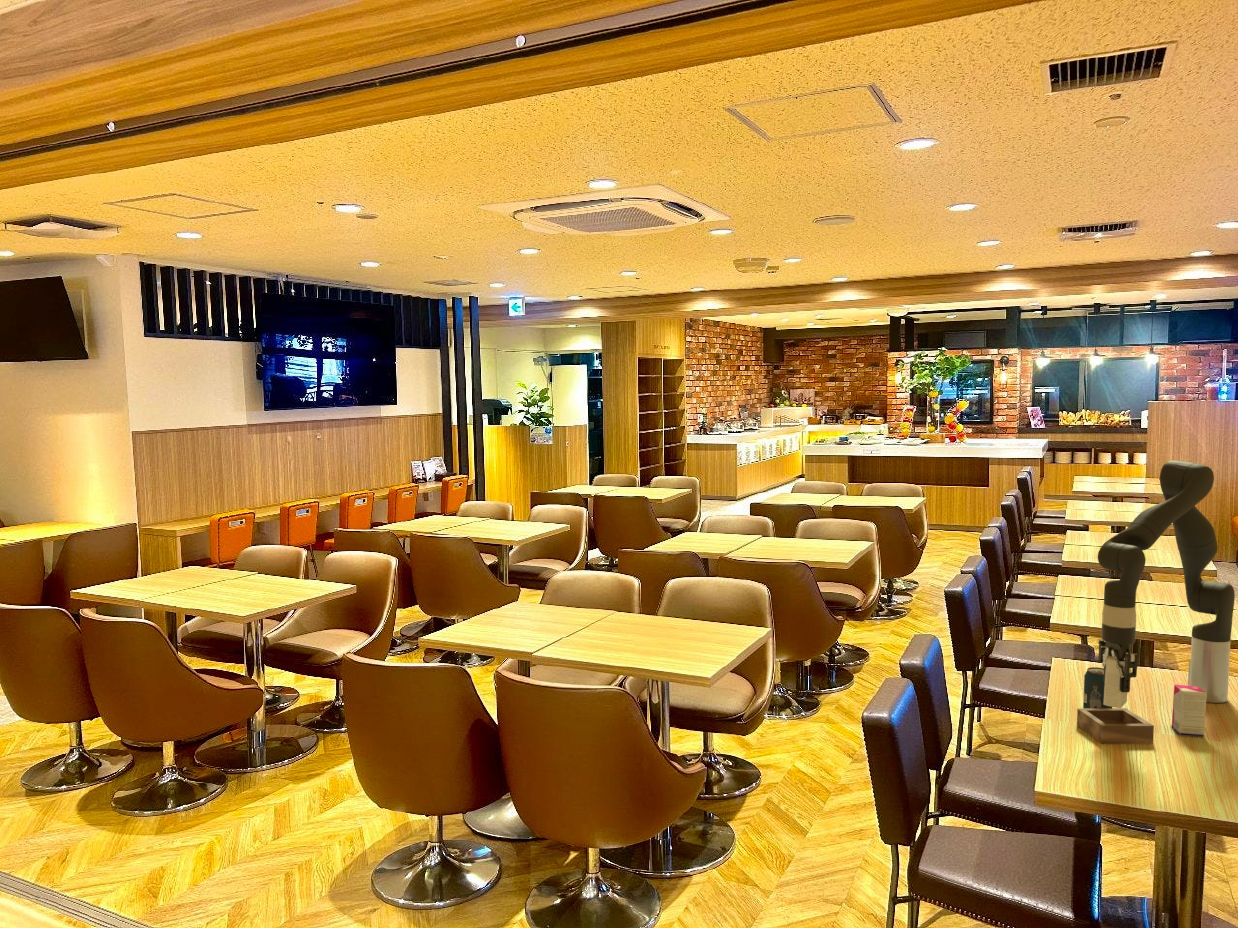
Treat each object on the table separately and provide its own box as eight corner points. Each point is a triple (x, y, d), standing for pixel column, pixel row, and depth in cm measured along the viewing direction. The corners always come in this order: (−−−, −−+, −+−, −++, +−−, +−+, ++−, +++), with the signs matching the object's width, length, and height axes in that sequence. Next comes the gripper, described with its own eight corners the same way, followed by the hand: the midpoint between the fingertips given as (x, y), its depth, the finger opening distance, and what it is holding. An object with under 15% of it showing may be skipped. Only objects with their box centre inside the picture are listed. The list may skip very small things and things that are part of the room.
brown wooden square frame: (1076, 725, 242) (1077, 708, 242) (1125, 724, 242) (1125, 708, 242) (1102, 743, 230) (1102, 725, 229) (1153, 743, 230) (1153, 725, 229)
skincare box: (1108, 699, 239) (1110, 652, 238) (1128, 702, 236) (1130, 655, 235) (1102, 705, 234) (1104, 658, 233) (1122, 709, 231) (1124, 661, 230)
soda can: (1105, 709, 254) (1107, 666, 253) (1116, 718, 247) (1118, 674, 246) (1078, 709, 254) (1080, 666, 253) (1089, 718, 247) (1090, 673, 246)
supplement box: (1205, 737, 234) (1207, 692, 233) (1179, 735, 235) (1181, 691, 234) (1195, 728, 239) (1198, 685, 238) (1170, 727, 241) (1172, 683, 240)
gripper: (1150, 629, 226) (1147, 696, 228) (1118, 615, 241) (1115, 678, 242) (1119, 630, 226) (1116, 696, 228) (1089, 615, 241) (1087, 678, 242)
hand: (1116, 686), depth 235 cm, fingers closed on skincare box, 7 cm apart
